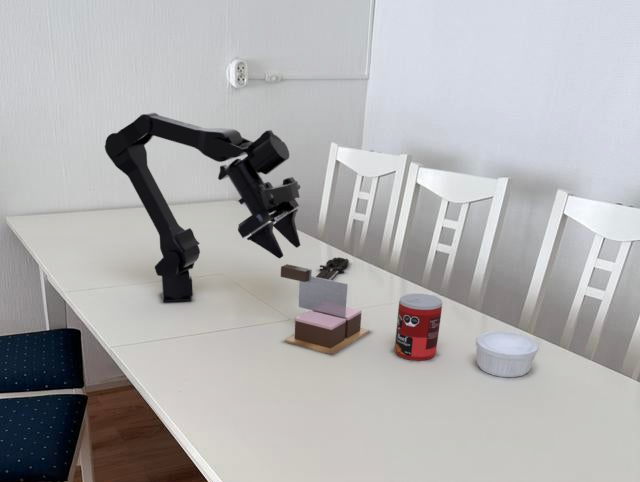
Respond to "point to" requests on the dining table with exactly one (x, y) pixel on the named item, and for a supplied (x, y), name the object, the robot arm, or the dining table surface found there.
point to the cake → (327, 327)
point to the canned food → (418, 326)
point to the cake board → (325, 349)
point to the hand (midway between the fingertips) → (290, 251)
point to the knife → (334, 271)
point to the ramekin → (505, 353)
